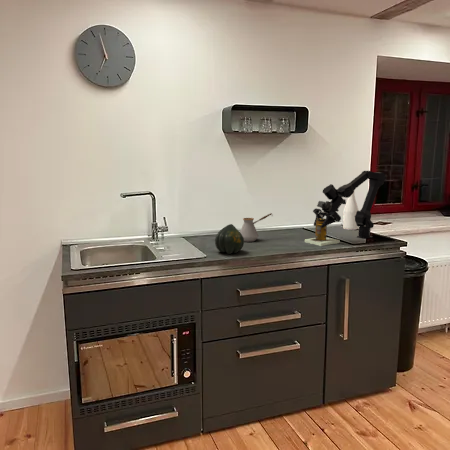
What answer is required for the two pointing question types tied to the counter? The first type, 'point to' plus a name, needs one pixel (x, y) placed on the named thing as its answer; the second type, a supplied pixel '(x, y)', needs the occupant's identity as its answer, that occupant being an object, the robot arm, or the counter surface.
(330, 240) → the board
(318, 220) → the condiment
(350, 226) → the wine bottle
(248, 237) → the coffee pot
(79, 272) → the counter surface
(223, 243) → the squash
